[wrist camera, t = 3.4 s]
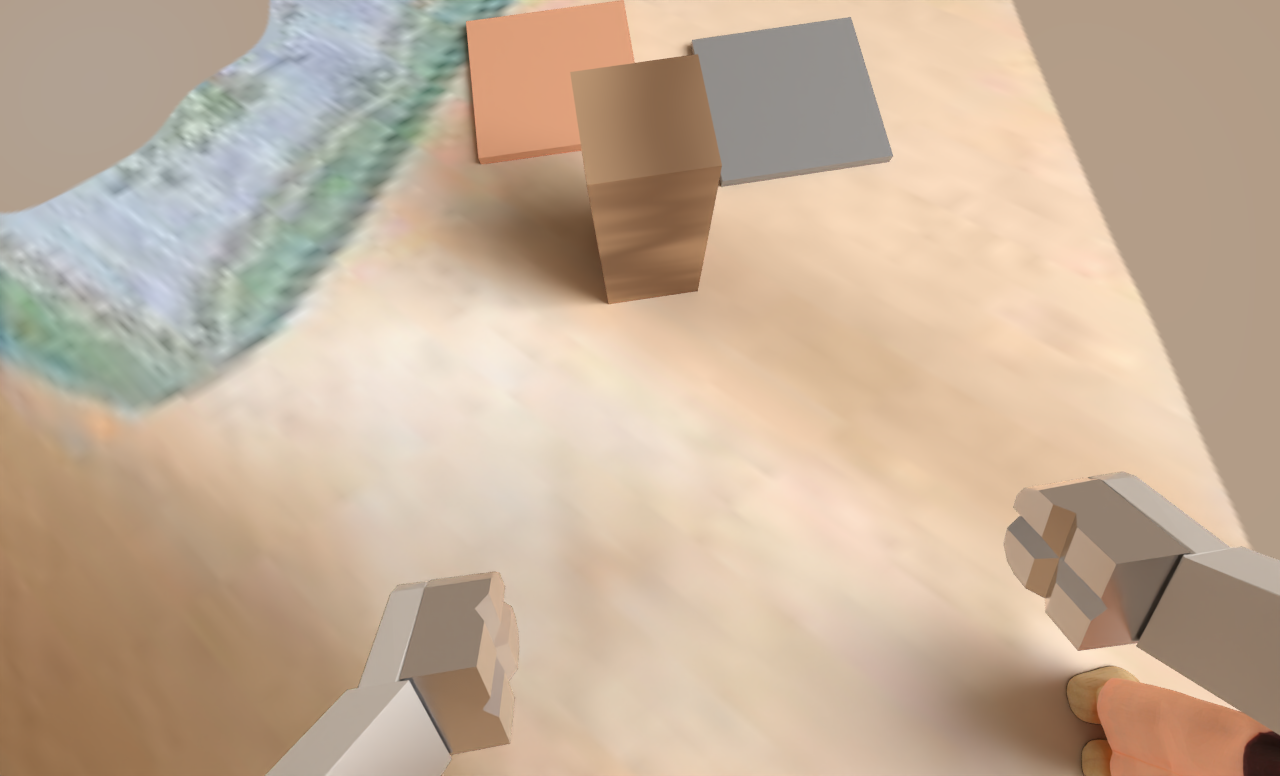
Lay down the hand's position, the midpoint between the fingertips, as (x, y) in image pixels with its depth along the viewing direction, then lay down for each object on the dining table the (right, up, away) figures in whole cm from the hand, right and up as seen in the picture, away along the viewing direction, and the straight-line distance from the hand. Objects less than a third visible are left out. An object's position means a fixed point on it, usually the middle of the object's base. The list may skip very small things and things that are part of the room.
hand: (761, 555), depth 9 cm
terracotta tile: (-6, +18, +20) cm, 27 cm away
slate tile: (+5, +16, +19) cm, 26 cm away
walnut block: (-2, +9, +17) cm, 19 cm away
